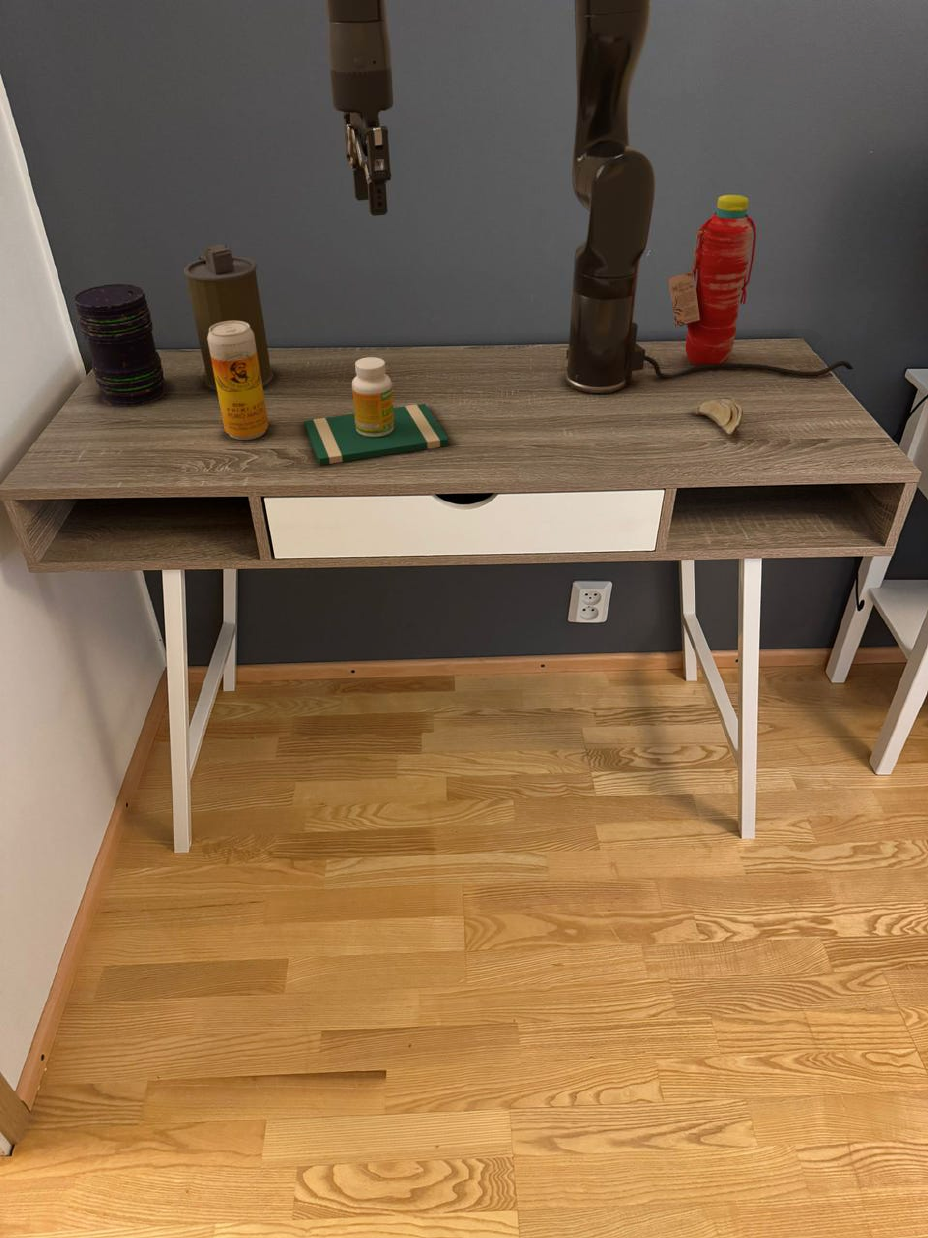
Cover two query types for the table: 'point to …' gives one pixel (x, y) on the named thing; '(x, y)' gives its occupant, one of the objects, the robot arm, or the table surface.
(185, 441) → the table surface
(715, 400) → the dumpling
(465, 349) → the table surface
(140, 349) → the dark cylinder
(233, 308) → the canister
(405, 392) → the table surface
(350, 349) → the table surface
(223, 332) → the beer can
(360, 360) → the supplement bottle
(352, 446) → the towel
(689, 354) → the water bottle
